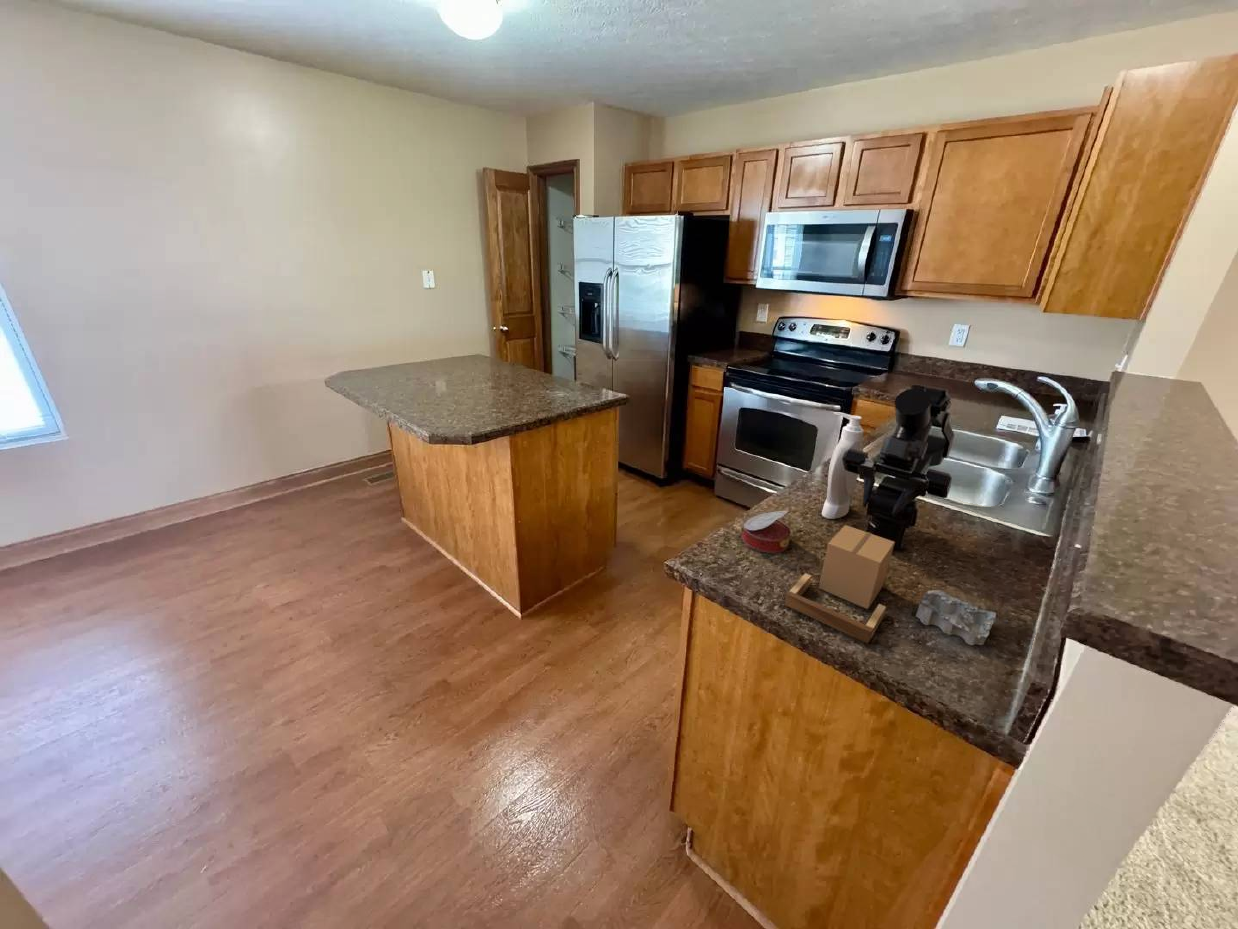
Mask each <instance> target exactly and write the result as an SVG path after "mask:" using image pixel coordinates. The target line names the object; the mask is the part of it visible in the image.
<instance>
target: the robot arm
mask: <svg viewBox="0 0 1238 929" xmlns="http://www.w3.org/2000/svg"><path fill="white" fill-rule="evenodd" d="M951 406H952V397H951V396H950V395H949V392H948V389H946V388H939V387H932V386H927V385H922V384H916V383H913V384H911V386H910V388H906V389H905V390H903V391H902V392H900V393H899V394H898V395H896V397H895V399H894V411H895V422H896V427H895V430H894V431H893V434H892V435H891V437H890V436H889V437H888V436H885V437H884V440H883V442H882V446H881V448H880V452H879V454H880V455H879V459H880V460H881V462H879V461H876V460H875V459H871V458H869V454H868V452H866V451H863V452H862V451H858V450H854V449H848V450H847V451H845V453H844V455H843V457H842V461H843V465H844V469H845V470H846V471H848V472H852V473H855V474H858V477H859V479H861V480H863V497H862V507H863V508H866V516H870V517H871V518H870V520H869V521H868V524H867V527H866V531H865V532H869V533H872V534H873V535H876V536H879V537H882V538H885V539H888V540H891V541H894V542H895V544H894V547H893V551H904V550H906V548H907V547H906V546H905V545H904V544H903V539H904V536H905V533H906V530H907V529H909V528H911V527H915V526H916V524H917V521H918V520H917V519H918V515H919V514H918V512H919V509H918V502H917V501H916V499H917V498H918V497H926V495H931V496H932V497H933V496H934V497H937V498H940V499H947V498H948V496H949V493H950V490H951V487H952V480H953V477H952V476H951V474H950V473H948V472H944V471H940V470H937V469H932V468H930V467H935V466H940V465H941V464H942V462H943V461H944V459H946V460H947V459H948V458H949V455H950V453H951V451H952V447H953V441H954V438H955V433H954V432H955V431H953V428H952V427H951V424H950V418H951V412H948V410H950V409H951ZM933 427H934V428H937V429H940V431H941V433H942V436H939V435H934V434H931V433H930V432H931V430H932V428H933ZM876 473H879V474H882V475H886V476H884V477H883V478H882V480H881V482H879V483H878V485H877V487H875V489H874V486H875V483H876Z"/></svg>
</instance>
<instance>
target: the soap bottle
mask: <svg viewBox="0 0 1238 929" xmlns="http://www.w3.org/2000/svg"><path fill="white" fill-rule="evenodd" d="M833 415H836V416H840V417H843V418H845V419H847V420H849V422H848V423H846V425H845V426H843V427H842V430H841V434H840V439H839V441H838V443H837V444H836V446H835V448H834V449H833V451H832V454H831V458H830V462H829V467H828V474H827V491H826V499H825V501H824V504H823V507H822V510H821V515H822V517H823V518H825V519H828V520H835V519H839V518H842V517H845V516H846V515H847V514H848V513H849V510H850V506H851V505H850V504H851V498H850V497H851V496H852V492H853V490H854V488H855V486H856V482H857V480H858V477H859V474H855V473H852V472H848V471H846V470H845V469H844V465H843V461H842V457H843V455H844V453H845V451H847V450H848V449H854V450H858V451H862V452H864V442H863V436H864V431H865V430H864V429H863V428H862V425H860V423H861V420H862V416H860V415H855V414H854V415H853V414H852V415H851V414H848V413H845V412H840V411H834V412H833Z"/></svg>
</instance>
